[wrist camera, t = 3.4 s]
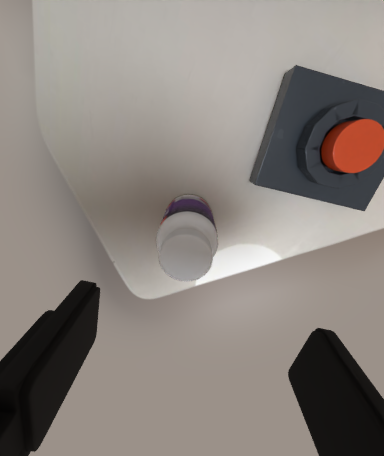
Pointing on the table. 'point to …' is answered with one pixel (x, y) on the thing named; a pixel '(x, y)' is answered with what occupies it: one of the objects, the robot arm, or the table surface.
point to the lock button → (353, 145)
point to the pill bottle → (187, 238)
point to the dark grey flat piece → (317, 138)
